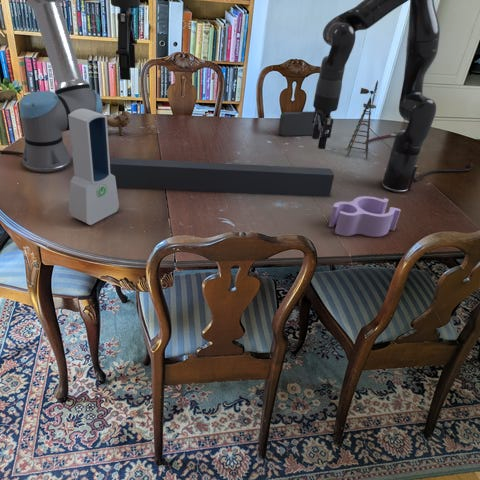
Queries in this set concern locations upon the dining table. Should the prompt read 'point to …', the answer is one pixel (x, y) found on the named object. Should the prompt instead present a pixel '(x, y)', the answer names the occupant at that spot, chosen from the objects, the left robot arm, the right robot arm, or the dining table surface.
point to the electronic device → (91, 168)
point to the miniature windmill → (364, 91)
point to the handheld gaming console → (296, 123)
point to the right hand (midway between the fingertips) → (318, 143)
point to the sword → (382, 137)
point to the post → (221, 177)
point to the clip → (364, 217)
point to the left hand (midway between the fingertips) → (128, 73)
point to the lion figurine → (120, 121)
